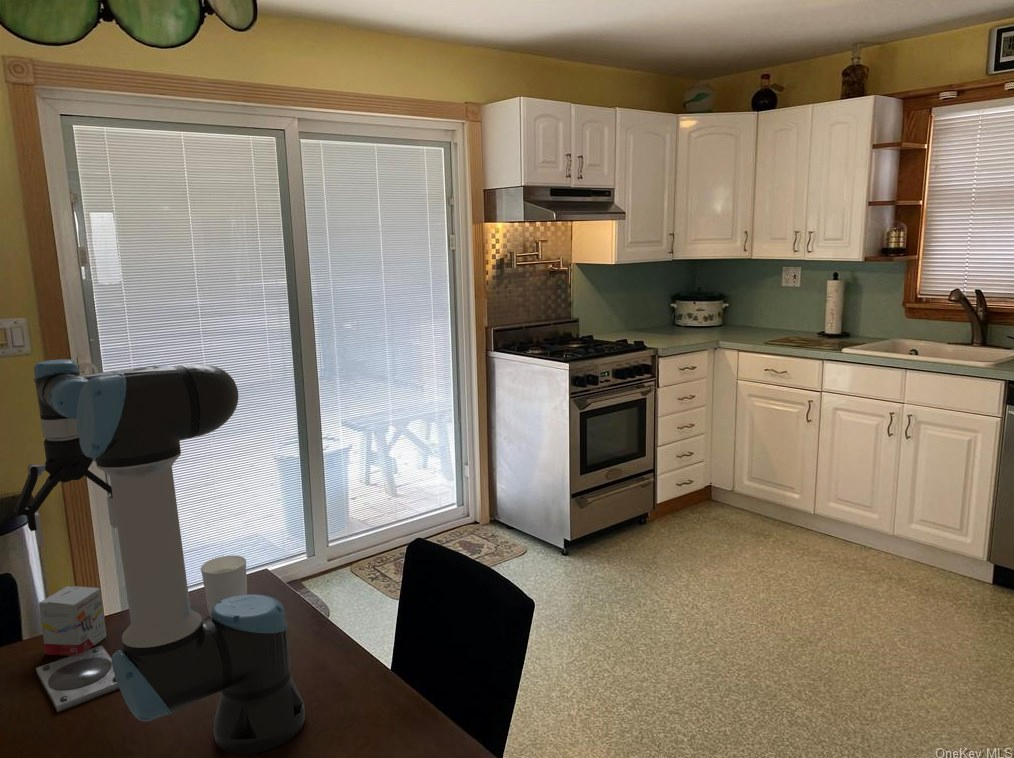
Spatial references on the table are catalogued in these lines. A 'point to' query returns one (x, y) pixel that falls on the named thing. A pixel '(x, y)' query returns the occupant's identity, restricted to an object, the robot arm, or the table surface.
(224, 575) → the candle holder
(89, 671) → the flange
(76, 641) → the ink box
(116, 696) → the table surface
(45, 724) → the table surface
